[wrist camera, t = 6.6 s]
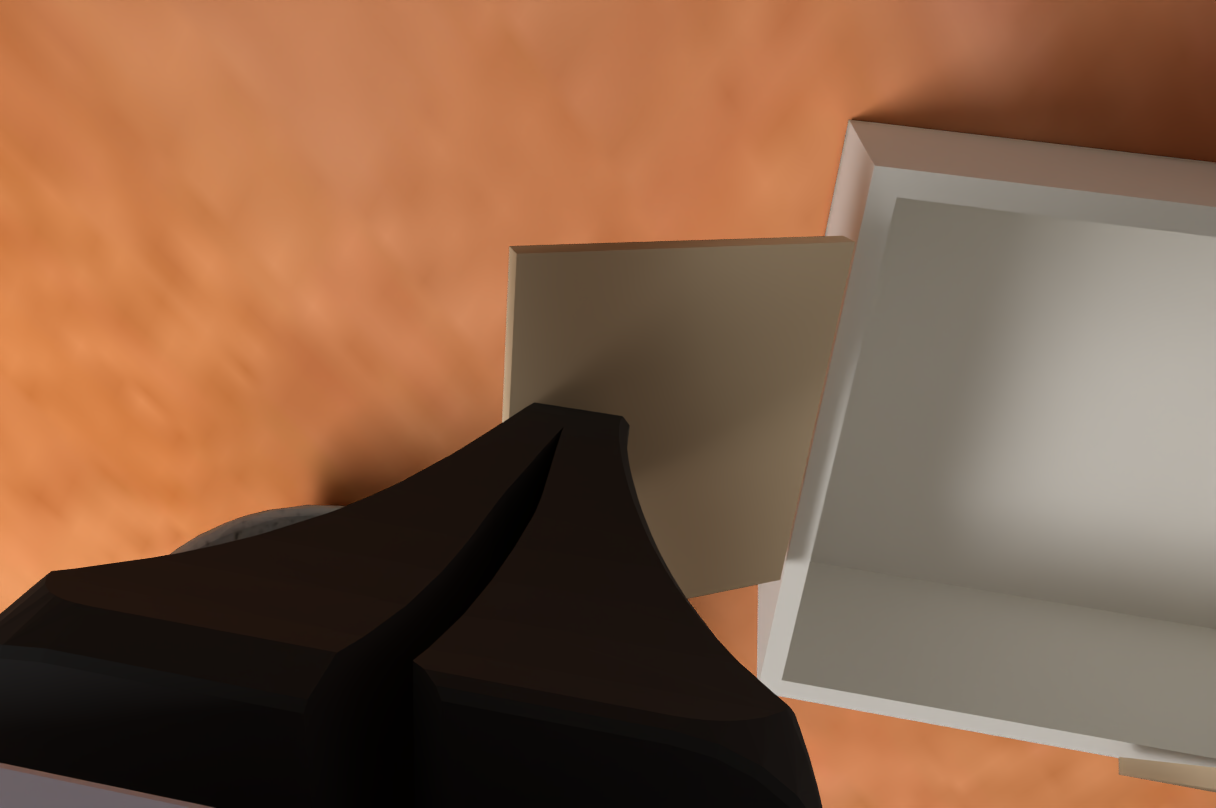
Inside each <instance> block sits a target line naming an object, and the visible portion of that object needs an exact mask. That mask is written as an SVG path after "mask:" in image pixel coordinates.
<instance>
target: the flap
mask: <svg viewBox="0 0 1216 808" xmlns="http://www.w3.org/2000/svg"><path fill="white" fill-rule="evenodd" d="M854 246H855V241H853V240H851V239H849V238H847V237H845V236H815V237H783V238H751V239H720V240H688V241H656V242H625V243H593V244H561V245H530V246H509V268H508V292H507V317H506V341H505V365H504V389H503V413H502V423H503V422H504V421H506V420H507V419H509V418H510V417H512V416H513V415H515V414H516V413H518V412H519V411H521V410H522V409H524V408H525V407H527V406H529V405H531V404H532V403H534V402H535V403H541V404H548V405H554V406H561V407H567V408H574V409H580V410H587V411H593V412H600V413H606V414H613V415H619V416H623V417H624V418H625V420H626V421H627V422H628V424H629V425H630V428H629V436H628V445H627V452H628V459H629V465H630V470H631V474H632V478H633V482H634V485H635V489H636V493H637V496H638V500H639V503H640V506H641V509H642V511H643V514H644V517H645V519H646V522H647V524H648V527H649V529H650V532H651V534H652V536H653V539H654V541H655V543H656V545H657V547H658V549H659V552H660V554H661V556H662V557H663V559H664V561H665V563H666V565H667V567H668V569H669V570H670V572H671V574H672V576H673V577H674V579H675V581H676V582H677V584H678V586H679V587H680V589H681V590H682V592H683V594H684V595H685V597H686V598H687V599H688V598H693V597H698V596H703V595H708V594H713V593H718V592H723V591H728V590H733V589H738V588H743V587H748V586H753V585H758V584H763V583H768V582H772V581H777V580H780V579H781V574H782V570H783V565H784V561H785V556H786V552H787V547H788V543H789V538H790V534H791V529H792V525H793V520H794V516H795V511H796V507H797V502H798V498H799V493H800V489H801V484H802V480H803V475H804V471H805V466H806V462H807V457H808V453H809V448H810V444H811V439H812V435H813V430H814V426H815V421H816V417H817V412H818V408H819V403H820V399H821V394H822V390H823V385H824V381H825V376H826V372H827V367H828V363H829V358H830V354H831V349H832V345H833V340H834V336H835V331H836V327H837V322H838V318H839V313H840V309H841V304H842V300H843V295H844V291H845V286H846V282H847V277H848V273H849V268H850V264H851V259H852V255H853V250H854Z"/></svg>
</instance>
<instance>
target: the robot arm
mask: <svg viewBox="0 0 1216 808" xmlns="http://www.w3.org/2000/svg"><path fill="white" fill-rule="evenodd" d="M629 428H630V425H629V424H628V422H627V421H626V420H625V418H624V417H623V416H619V415H613V414H606V413H600V412H593V411H587V410H580V409H574V408H567V407H561V406H554V405H548V404H541V403H535V402H534V403H532V404H531V405H529V406H527V407H525V408H524V409H522V410H521V411H519V412H518V413H516V414H515V415H513V416H512V417H510V418H509V419H507V420H506V421H504V422H503V423H501V424H499V425H498V426H496V427H495V428H493V429H492V430H490V431H489V432H487V433H486V434H484V435H482V436H481V437H479V438H478V439H476V440H474V441H473V442H471V443H470V444H468V445H466V446H465V447H463V448H462V449H460V450H458V451H457V452H455V453H453V454H452V455H450V456H448V457H446V458H444V459H442V460H441V461H439V462H437V463H435V464H433V465H431V466H430V467H428V468H426V469H424V470H422V471H420V472H419V473H417V474H415V475H413V476H411V477H409V478H407V479H406V480H404V481H402V482H400V483H398V484H396V485H394V486H391V487H389V488H387V489H385V490H383V491H381V492H378V493H376V494H374V495H372V496H369V497H367V498H364V499H362V500H359V501H357V502H355V503H352V504H350V505H347V506H345V507H342V508H340V509H337V510H334V511H332V512H329V513H326V514H323V515H320V516H317V517H314V518H310V519H307V520H304V521H301V522H298V523H295V524H291V525H288V526H285V527H282V528H279V529H276V530H272V531H269V532H266V533H263V534H259V535H255V536H252V537H248V538H244V539H240V540H235V541H231V542H227V543H223V544H219V545H215V546H210V547H205V548H200V549H195V550H191V551H186V552H181V553H176V554H170V555H165V556H159V557H154V558H147V559H140V560H133V561H126V562H119V563H112V564H104V565H97V566H90V567H83V568H76V569H67V570H58V571H51V572H50V573H49V574H47V575H46V576H45V577H44V578H42V579H41V580H40V581H39V582H37V583H36V584H35V585H34V586H33V587H32V588H30V589H29V590H28V591H27V592H26V593H24V594H23V595H22V596H21V597H20V598H19V599H17V600H16V601H15V602H14V603H13V604H11V605H10V606H9V607H8V608H7V609H5V610H4V611H3V612H2V613H1V614H0V808H822V804H821V800H820V795H819V791H818V786H817V783H816V779H815V776H814V772H813V768H812V765H811V761H810V758H809V755H808V752H807V748H806V745H805V742H804V739H803V736H802V733H801V730H800V727H799V724H798V722H797V719H796V716H795V714H794V712H793V711H792V709H791V708H790V707H789V706H788V705H787V704H786V703H785V702H784V701H782V700H781V699H780V698H779V697H778V696H777V695H776V694H774V693H773V692H772V691H771V690H770V689H769V688H768V687H766V686H765V685H764V684H763V683H762V682H761V681H760V680H758V679H757V678H756V677H755V676H754V675H753V674H752V673H751V672H749V671H748V670H747V669H746V668H745V667H744V666H743V665H741V664H740V663H739V662H738V661H737V660H736V659H735V658H734V657H733V656H732V654H731V653H730V652H729V651H728V650H727V649H726V648H725V647H724V646H723V645H722V644H721V643H720V641H719V640H718V639H717V638H716V637H715V636H714V634H713V633H712V632H711V630H710V629H709V628H708V626H707V625H706V624H705V622H704V621H703V620H702V618H701V617H700V616H699V615H698V613H697V612H696V611H695V609H694V608H693V607H692V605H691V604H690V603H689V601H688V600H687V598H686V597H685V595H684V594H683V592H682V590H681V589H680V587H679V586H678V584H677V582H676V581H675V579H674V577H673V576H672V574H671V572H670V570H669V569H668V567H667V565H666V563H665V561H664V559H663V557H662V556H661V554H660V552H659V549H658V547H657V545H656V543H655V541H654V539H653V536H652V534H651V532H650V529H649V527H648V524H647V522H646V519H645V517H644V514H643V511H642V509H641V506H640V503H639V500H638V496H637V493H636V489H635V485H634V482H633V478H632V474H631V470H630V465H629V459H628V452H627V445H628V436H629Z"/></svg>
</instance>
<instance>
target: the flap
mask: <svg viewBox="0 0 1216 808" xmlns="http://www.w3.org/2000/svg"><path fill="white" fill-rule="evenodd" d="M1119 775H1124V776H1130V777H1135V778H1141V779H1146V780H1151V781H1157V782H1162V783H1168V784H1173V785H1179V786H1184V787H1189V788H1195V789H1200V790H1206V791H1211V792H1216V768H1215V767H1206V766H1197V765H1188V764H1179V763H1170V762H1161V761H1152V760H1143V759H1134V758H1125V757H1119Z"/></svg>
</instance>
